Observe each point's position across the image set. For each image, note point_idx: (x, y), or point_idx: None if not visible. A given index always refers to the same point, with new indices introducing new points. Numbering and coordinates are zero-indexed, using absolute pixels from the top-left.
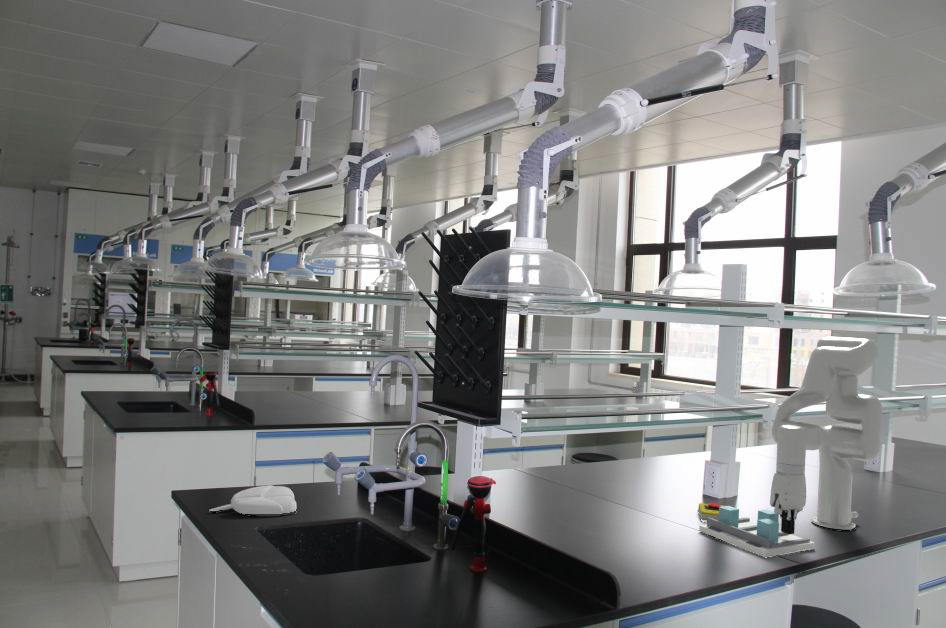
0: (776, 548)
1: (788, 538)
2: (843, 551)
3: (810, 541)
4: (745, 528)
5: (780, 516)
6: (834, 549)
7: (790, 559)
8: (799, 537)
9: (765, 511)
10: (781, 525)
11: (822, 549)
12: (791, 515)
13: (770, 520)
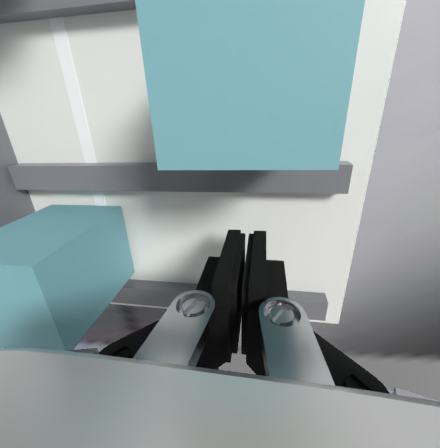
0: None
1: (266, 236)
2: (430, 356)
3: (335, 307)
4: (90, 6)
5: (174, 305)
6: (424, 331)
7: (133, 316)
8: (349, 249)
9: (210, 35)
10: (223, 247)
11: (370, 311)
12: (262, 373)
13: (32, 306)
